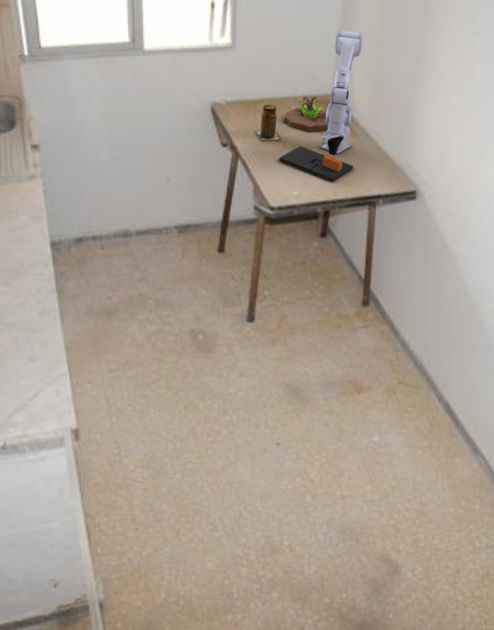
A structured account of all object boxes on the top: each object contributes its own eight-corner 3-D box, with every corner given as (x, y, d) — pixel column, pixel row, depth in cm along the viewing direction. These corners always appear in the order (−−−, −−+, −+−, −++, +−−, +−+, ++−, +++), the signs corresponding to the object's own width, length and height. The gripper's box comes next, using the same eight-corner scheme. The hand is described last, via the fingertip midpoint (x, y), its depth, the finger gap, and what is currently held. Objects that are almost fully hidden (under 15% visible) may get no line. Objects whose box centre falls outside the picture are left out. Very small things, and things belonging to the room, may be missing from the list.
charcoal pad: (324, 158, 280) (325, 146, 277) (352, 169, 274) (354, 157, 271) (303, 170, 271) (304, 158, 268) (332, 182, 265) (333, 169, 262)
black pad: (300, 149, 285) (300, 146, 284) (329, 160, 279) (330, 157, 278) (279, 161, 277) (279, 157, 276) (308, 172, 270) (309, 169, 269)
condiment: (273, 131, 298) (276, 103, 291) (279, 139, 291) (281, 111, 284) (256, 132, 296) (258, 103, 289) (261, 140, 290) (263, 112, 283)
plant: (312, 135, 296) (315, 109, 289) (276, 120, 306) (278, 95, 300) (342, 122, 308) (345, 97, 301) (307, 108, 318) (309, 83, 311)
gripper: (335, 129, 259) (330, 163, 267) (356, 117, 268) (351, 151, 277) (318, 123, 262) (315, 157, 271) (340, 112, 272) (336, 145, 280)
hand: (332, 154), depth 274 cm, fingers closed
